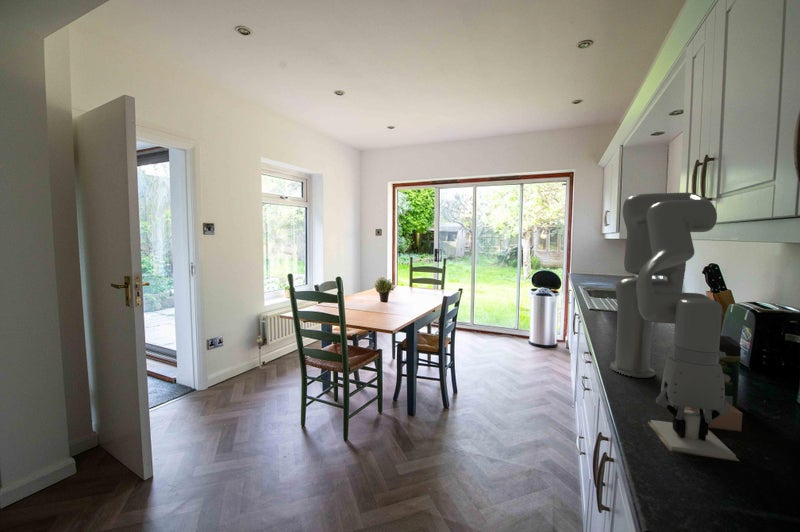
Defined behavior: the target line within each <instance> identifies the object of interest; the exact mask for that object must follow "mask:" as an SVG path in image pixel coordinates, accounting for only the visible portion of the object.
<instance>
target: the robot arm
mask: <svg viewBox="0 0 800 532" xmlns="http://www.w3.org/2000/svg"><path fill="white" fill-rule="evenodd" d="M622 217H623V218H622V219H623V222H624V225H625V229H626V240H625V241H626V242H625V250H624V257H623V258H624V259H623V265H624V269H625V272H626V273H627V274H630V275H634V276H635V275H636V276H637V277H628V278H627V277H626V278H622V279H620V280H619V281H618V282H617V284H616V286H615V296H616V303H617V323H616V324H617V326H616V327H617V328H616V342H615V343H616V345H615V360H614V361H612V362H610V364H609V369H611V370H612V371H613V370H614V371H613V372H615V371H616V372H615V373H617V372H619V373H618V374H620V373H621V375H623V374H624V376H626V375H627V377H631V376H632V377H633V378H638V379H639V378H640V379H647V378H653V377H654V376H655V373H656V372H655V369H653V368H652V367H650V360H651V359H650V357H651V343H652V328H653V327H652V326H653V324H652V323H657V324H671V325H672V324H674V335H673V350H672V356H668V357H667V359H666V362H665V366H664V369H663V374H662V381H661V386H660V387H661V388H660V393H659V395H658V396H657V397H656V398H655V402H656V403H657V405H659V406H661V407H662V408H664V409H666V410H668V412H669V413H670V414H672V423H673V430H674V431H675V432H676V433H677V434H678V435H679V437H680V438H684V437H685V424H686V422H685V420H684V419H683V415H684V410H685V407H689V408H698V413H699V414H700V416H701V417H700V431H699V438H700V439H701V440H702V441H706V435H708V429H709V428H708V426H709V424H710V423H712V420H713V419H715V418H716V417H718V416H719V415H720V414H721V415H722V414H725V413H728V412H730V409H729V407H728V406H727V404H726V402H725V386H724V376H723V371H722V367H721V365H720V364H719V363H718V362H719V359H721V358H726V353H725V352H721V351H720V350H719V345H720V335H721V332H722V331H721V329H722V319H723V317H722V315H723V306H722V305H721V304H720V303H719V302H718V301H716V300H714V299H710V297H709V296H707V295H705V294H703V293H697V292H683V287H684V280H685V273H686V266H687V261H689V260H691V259H692V258H693V257H694V256H695V247H694V243H693V239H692V234H691V233H707V232H710V231H711V230H713V228H715V225H716V224H717V219H718V214H717V209H716V207H715V206H714V204H713V202H711V200H709V198H706V197H703V196H701V195H699V194H696V193H693V192H666V193H665V192H659V193H658V192H656V193H652V192H651V193H641V194H635V195H631V196H628V197H627V198H626V199H625V200H624V202H623V206H622ZM653 276H654V277H662V278H653ZM632 377H631V378H632ZM670 403H671V404H672V405H671V404H670Z"/></svg>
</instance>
